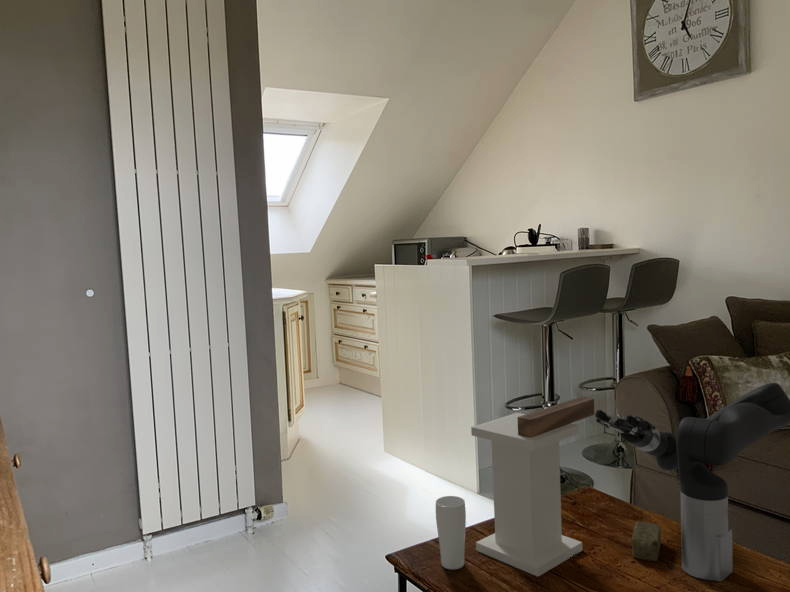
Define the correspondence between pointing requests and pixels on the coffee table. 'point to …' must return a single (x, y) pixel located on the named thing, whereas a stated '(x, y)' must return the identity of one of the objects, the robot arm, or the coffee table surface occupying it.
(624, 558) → the coffee table surface
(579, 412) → the walnut bar
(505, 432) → the shelf stand
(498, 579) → the coffee table surface
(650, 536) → the stone block
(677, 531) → the coffee table surface
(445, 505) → the drinking glass
